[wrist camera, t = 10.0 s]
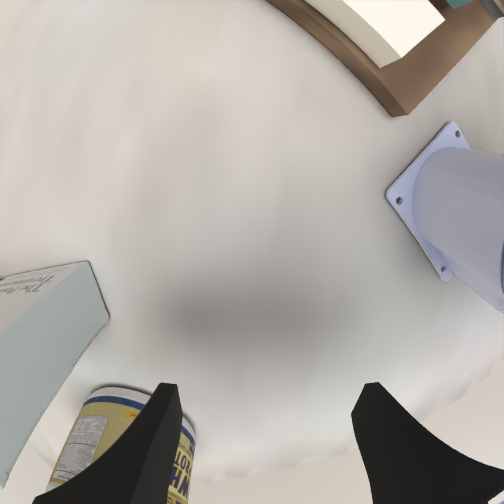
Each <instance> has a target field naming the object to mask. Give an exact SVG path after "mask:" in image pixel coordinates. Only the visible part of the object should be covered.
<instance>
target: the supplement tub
mask: <svg viewBox="0 0 504 504" xmlns="http://www.w3.org/2000/svg"><path fill="white" fill-rule="evenodd" d="M150 397H151V396H149V395H147V394H144V393H141V392H138V391H134V390H130V389H125V388H119V387H106V388H102V389H99V390H97V391H95V392H93V393H92V394H91V395H90V396H89V397H88V398H87V399H86V400H85V402H84V405H83V407H82V409H81V411H80V413H79V415H78V417H77V419H76V421H75V423H74V425H73V427H72V429H71V431H70V433H69V436H68V438H67V440H66V442H65V444H64V447H63V449H62V451H61V453H60V456H59V458H58V460H57V463H56V465H55V468H54V470H53V473H52V475H51V478H50V480H49V483H48V485H47V489H46V492H48V491H50V490H52V489H54V488H56V487H58V486H60V485H61V484H63V483H65V482H66V481H68V480H69V479H71V478H72V477H74V476H76V475H77V474H79V473H80V472H81V471H83V470H84V469H85V468H87V467H88V466H89V465H90V464H92V463H93V462H94V461H95V460H96V459H98V458H99V457H100V456H101V455H102V454H103V453H104V452H105V451H106V450H107V449H108V448H109V447H110V446H111V445H112V444H113V443H114V442H115V441H116V440H117V439H118V438H119V437H120V436H121V435H122V433H123V432H124V431H125V430H126V429H127V428H128V427H129V425H130V424H131V423H132V422H133V420H134V419H135V418H136V416H137V415H138V414H139V413H140V411H141V410H142V409H143V407H144V406H145V404H146V403H147V402H148V400H149V399H150ZM195 445H196V441H195V435H194V432H193V429H192V427H191V426H190V424H189V423H188V421H187V420H186V419H185V418H184V417H183V419H182V428H181V436H180V441H179V445H178V450H177V454H176V458H175V462H174V466H173V470H172V475H171V479H170V483H169V489H168V497H167V504H188V497H189V488H190V480H191V472H192V465H193V457H194V450H195Z"/></svg>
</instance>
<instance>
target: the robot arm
mask: <svg viewBox="0 0 504 504" xmlns="http://www.w3.org/2000/svg"><path fill="white" fill-rule="evenodd" d="M455 132H456V133H457V137H456V135H455ZM398 197H399V198H400V201H399V203H397V204H396V199H397V198H398ZM386 198H387V200H388V201H389V202H390V204H391V205H392V206H393V208H394V209H395V210H396V212H397V213H398V214H399V216H400V217H401V218H402V220H403V221H404V223H405V224H406V225H407V227H408V228H409V230H410V231H411V232H412V234H413V235H414V237H415V238H416V240H417V241H418V243H419V244H420V246H421V247H422V249H423V250H424V252H425V253H426V255H427V257H428V258H429V260H430V261H431V263H432V265H433V266H434V268H435V269H436V271H437V273H438V274H439V276H440V278H441V279H442V280H443V281H444V282H448V281H449V280H450V279H451V278H452V277H453V276H454V275H455V276H457V277H458V278H459V279H460V280H462V281H463V282H464V283H465V284H467V285H468V286H469V287H470V288H471V289H473V290H474V291H475V292H476V293H478V294H479V295H480V296H481V297H482V298H483V299H485V300H486V301H487V302H488V303H489V304H490V305H492V306H493V307H494V308H495V309H497V310H498V311H500V312H502V313H504V155H501V154H496V153H490V152H484V151H477V150H472V149H471V148H470V146H469V144H468V142H467V140H466V139H465V137H464V135H463V133H462V132H461V130H460V128H459V127H458V125H457V124H456V122H454V121H449V122H448V123H447V124H446V125H445V126H444V127H443V129H442V130H441V131H440V132H439V133H438V134H437V136H436V137H435V138H434V139H433V140H432V141H431V142H430V144H429V145H428V146H427V147H426V148H425V149H424V150H423V151H422V152H421V154H420V155H419V156H418V157H417V158H416V159H415V160H414V161H413V162H412V164H411V165H410V166H409V167H408V168H407V169H406V170H405V171H404V172H403V173H402V174H401V175H400V177H399V178H398V179H397V180H396V181H395V182H394V183H393V184H392V185H391V186H390V187H389V188H388V190H387V191H386ZM442 266H443V268H442ZM441 268H442V269H441ZM351 417H352V423H353V428H354V434H355V437H356V441H357V444H358V447H359V450H360V453H361V456H362V459H363V462H364V465H365V468H366V471H367V475H368V478H369V482H370V487H371V493H372V499H373V504H488V501H489V500H491V499H492V498H494V497H495V496H496V495H498V494H499V493H500V492H502V491H503V490H504V470H502V469H499V468H496V467H492V466H489V465H486V464H483V463H481V462H478V461H476V460H474V459H472V458H469V457H467V456H465V455H464V454H461V453H460V452H458V451H456V450H455V449H453V448H451V447H450V446H448V445H447V444H445V443H444V442H443V441H441V440H440V439H438V438H437V437H435V436H434V435H433V434H432V433H431V432H429V431H428V430H427V429H426V428H425V427H423V426H422V425H421V424H420V423H419V422H418V421H417V420H416V419H415V418H414V417H413V416H411V415H410V414H409V413H408V412H407V411H406V410H405V409H404V408H403V407H402V406H401V405H400V404H399V403H398V401H397V400H396V399H395V398H394V397H393V396H392V395H391V394H390V393H389V392H388V391H387V390H386V389H385V388H384V387H383V386H382V385H381V384H380V383H379V382H375V383H367V384H365V385H364V388H363V390H362V392H361V394H360V396H359V399H358V401H357V403H356V405H355V407H354V409H353V411H352V413H351ZM182 419H183V413H182V409H181V403H180V398H179V393H178V387H177V384H169V383H160V384H159V385H158V386H157V388H156V390H155V391H154V393H153V394H152V396H151V397H150V399H149V400H148V402H147V403H146V404H145V406H144V407H143V409H142V410H141V411H140V413H139V414H138V415H137V416H136V418H135V419H134V420H133V422H132V423H131V424H130V425H129V427H128V428H127V429H126V430H125V431H124V432H123V433H122V435H121V436H120V437H119V438H118V439H117V440H116V441H115V442H114V443H113V444H112V445H111V446H110V447H109V448H108V449H107V450H106V451H105V452H104V453H103V454H102V455H101V456H100V457H99V458H98V459H96V460H95V461H94V462H93V463H92V464H90V465H89V466H88V467H87V468H85V469H84V470H83V471H81V472H80V473H79V474H77V475H76V476H74V477H72V478H71V479H69V480H68V481H66V482H65V483H63V484H61V485H60V486H58V487H56V488H54V489H52V490H50V491H48V492H46V493H44V494H41V495H39V496H37V497H35V499H34V501H33V503H32V504H167V497H168V489H169V483H170V479H171V475H172V470H173V466H174V462H175V458H176V454H177V450H178V445H179V441H180V436H181V428H182ZM499 504H504V501H502V502H501V503H499Z"/></svg>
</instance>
